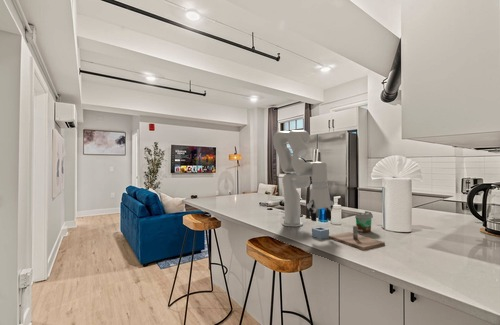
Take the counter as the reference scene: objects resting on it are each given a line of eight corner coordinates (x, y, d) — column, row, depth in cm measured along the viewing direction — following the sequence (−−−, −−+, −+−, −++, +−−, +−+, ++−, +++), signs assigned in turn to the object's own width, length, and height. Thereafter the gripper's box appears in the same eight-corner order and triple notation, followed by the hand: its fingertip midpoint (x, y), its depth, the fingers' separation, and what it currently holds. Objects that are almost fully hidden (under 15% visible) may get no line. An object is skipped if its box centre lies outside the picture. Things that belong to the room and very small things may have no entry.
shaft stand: (329, 238, 123) (328, 223, 123) (349, 234, 129) (348, 220, 129) (363, 250, 105) (363, 233, 105) (384, 245, 111) (384, 229, 111)
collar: (311, 236, 127) (311, 228, 127) (320, 234, 129) (320, 226, 129) (320, 239, 121) (319, 230, 121) (329, 237, 124) (329, 229, 124)
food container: (367, 235, 127) (366, 215, 127) (355, 232, 132) (355, 214, 132) (377, 230, 135) (376, 212, 135) (365, 228, 140) (365, 210, 140)
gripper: (327, 185, 133) (328, 217, 132) (301, 186, 125) (302, 220, 124) (337, 185, 126) (339, 219, 125) (311, 187, 118) (312, 223, 117)
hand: (321, 219), depth 125 cm, fingers open, 9 cm apart
